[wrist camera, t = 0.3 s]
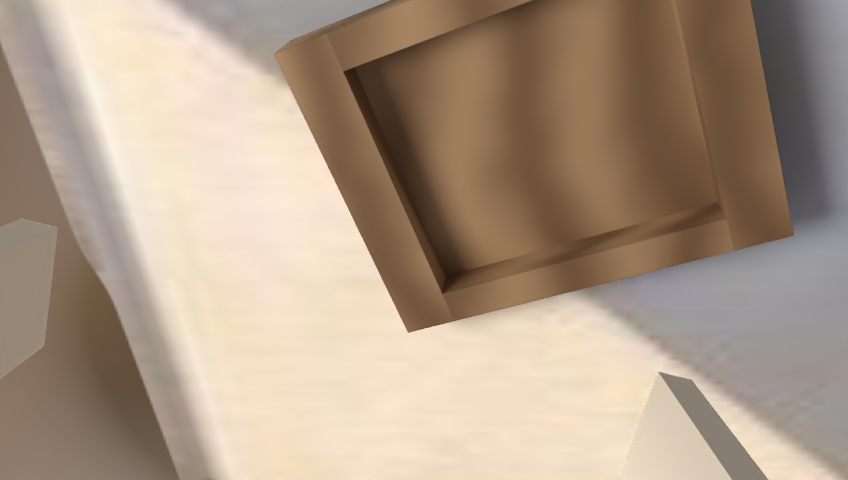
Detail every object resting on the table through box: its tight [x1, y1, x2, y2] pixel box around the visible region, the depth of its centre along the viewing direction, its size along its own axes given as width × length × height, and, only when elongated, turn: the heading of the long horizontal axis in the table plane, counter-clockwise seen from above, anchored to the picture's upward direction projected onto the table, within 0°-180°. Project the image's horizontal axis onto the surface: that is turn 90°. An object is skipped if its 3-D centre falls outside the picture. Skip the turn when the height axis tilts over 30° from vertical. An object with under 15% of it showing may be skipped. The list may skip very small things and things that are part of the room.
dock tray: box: [274, 0, 794, 333], centre depth 38 cm, size 22×18×3 cm
